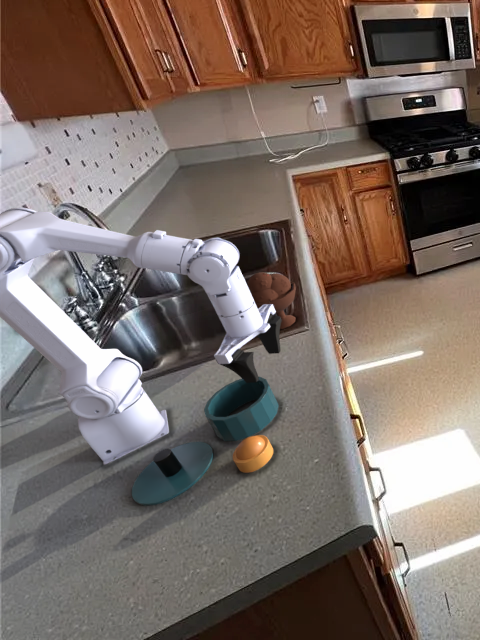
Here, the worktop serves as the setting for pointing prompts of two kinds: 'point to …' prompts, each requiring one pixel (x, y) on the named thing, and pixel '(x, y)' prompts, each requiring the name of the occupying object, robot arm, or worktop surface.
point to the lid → (172, 473)
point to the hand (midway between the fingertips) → (264, 366)
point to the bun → (252, 453)
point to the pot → (245, 420)
